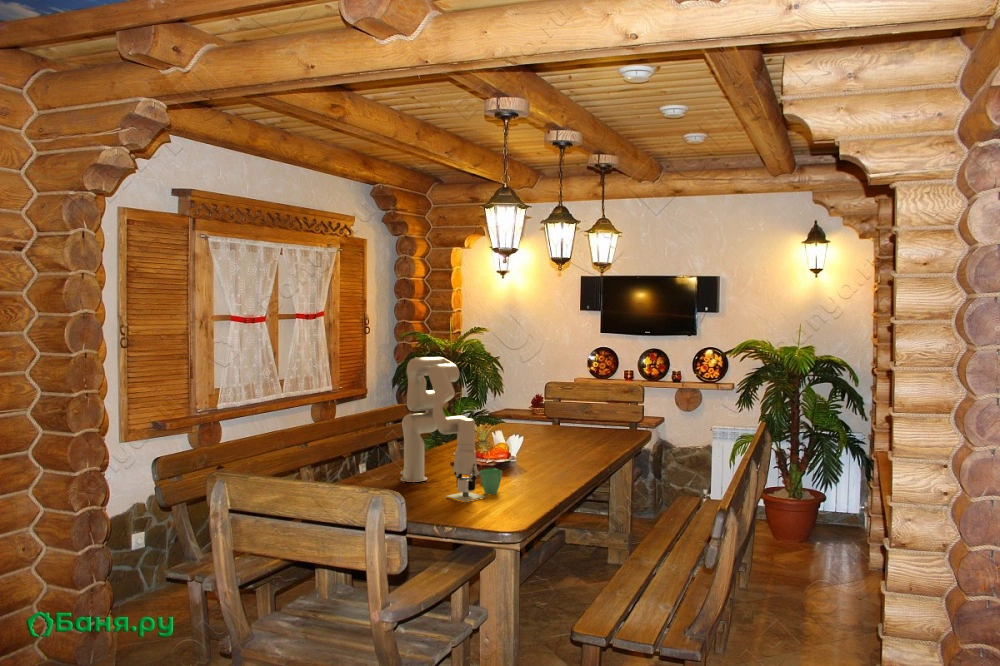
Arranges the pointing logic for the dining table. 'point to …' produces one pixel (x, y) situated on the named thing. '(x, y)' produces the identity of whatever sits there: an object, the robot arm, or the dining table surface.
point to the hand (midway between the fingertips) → (465, 488)
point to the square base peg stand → (465, 496)
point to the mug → (490, 480)
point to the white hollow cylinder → (463, 484)
